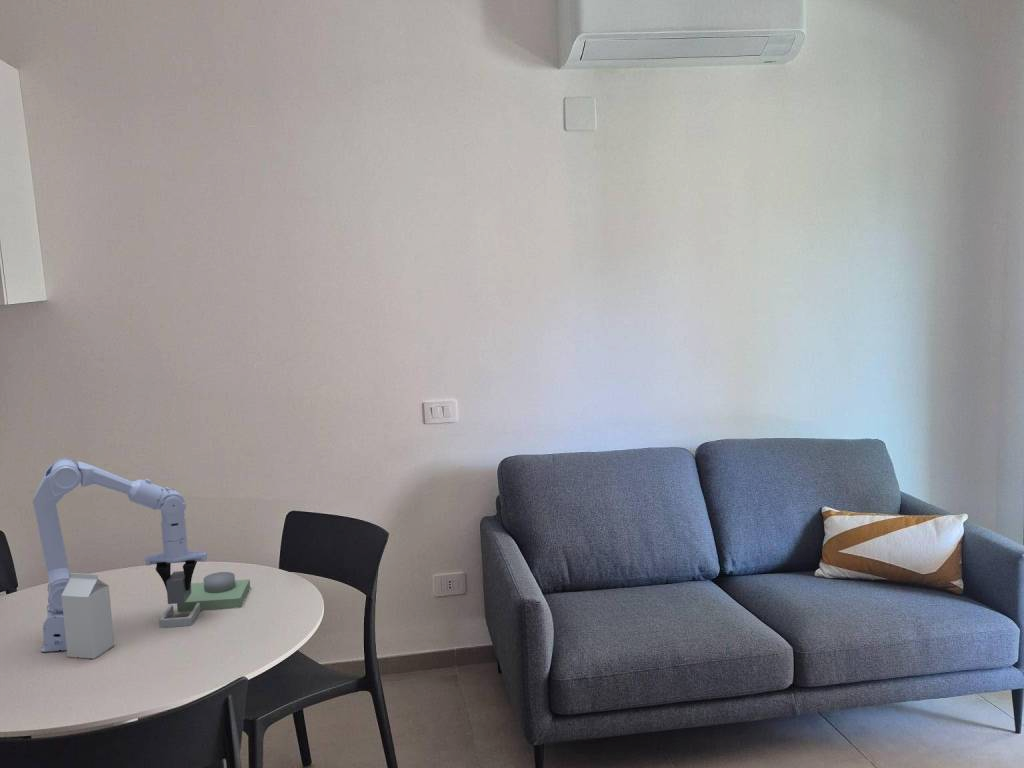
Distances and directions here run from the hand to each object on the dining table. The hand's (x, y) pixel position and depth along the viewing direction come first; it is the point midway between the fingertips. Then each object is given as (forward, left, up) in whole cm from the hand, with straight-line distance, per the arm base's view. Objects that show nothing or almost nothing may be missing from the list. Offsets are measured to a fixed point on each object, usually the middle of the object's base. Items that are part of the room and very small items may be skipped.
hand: (178, 589), depth 216 cm
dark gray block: (0, 0, -2) cm, 2 cm away
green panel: (+7, -5, -8) cm, 11 cm away
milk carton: (-17, +16, -8) cm, 24 cm away
